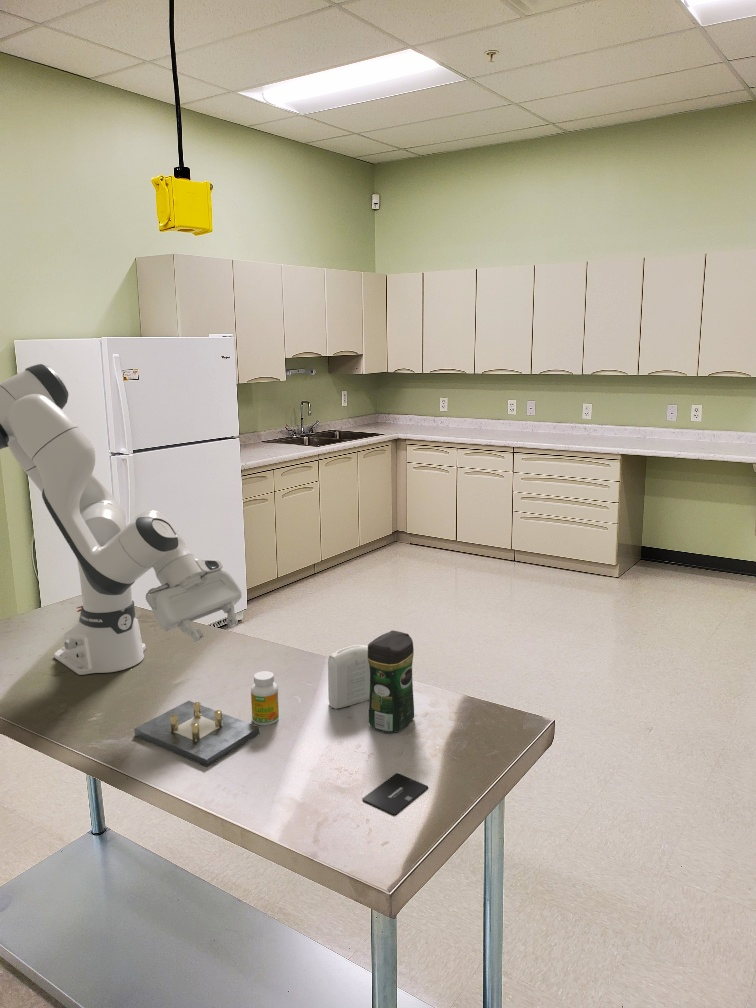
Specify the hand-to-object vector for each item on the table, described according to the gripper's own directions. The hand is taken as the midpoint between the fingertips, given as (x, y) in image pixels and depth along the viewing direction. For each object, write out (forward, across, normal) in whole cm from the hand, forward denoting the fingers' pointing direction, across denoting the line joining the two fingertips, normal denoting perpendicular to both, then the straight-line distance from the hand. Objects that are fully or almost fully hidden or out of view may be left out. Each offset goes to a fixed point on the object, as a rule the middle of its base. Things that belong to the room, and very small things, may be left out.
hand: (217, 632), depth 159 cm
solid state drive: (+46, -4, -22) cm, 51 cm away
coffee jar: (+35, +15, -12) cm, 40 cm away
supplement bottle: (+20, +1, +4) cm, 21 cm away
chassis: (+15, -11, +8) cm, 21 cm away
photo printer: (+27, +18, -3) cm, 32 cm away
